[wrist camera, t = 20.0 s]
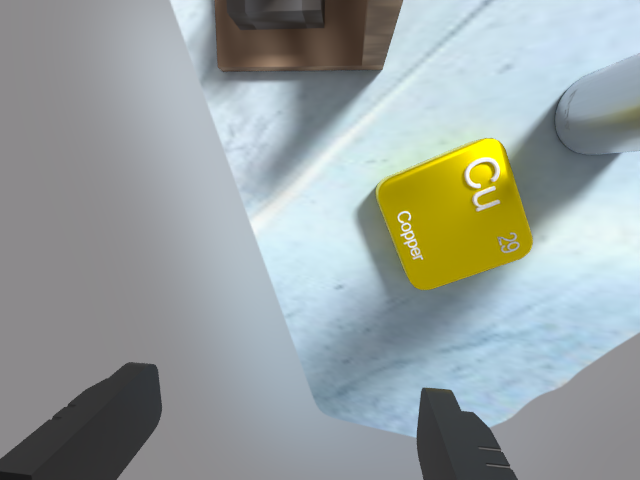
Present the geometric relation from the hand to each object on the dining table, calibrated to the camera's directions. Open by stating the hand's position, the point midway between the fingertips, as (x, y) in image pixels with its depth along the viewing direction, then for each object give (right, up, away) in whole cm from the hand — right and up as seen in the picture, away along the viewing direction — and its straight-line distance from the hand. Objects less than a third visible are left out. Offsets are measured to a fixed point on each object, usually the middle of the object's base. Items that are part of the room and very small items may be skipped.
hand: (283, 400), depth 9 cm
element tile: (+18, +8, +31) cm, 37 cm away
